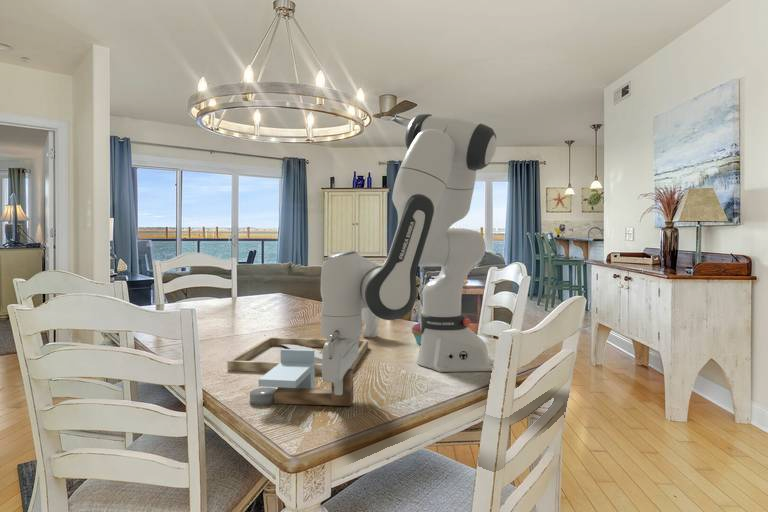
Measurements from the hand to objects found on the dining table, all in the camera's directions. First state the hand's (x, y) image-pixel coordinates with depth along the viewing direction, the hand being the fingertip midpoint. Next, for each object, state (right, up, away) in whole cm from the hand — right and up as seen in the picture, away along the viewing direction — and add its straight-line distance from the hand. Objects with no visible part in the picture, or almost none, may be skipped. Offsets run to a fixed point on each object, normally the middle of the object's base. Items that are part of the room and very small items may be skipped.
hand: (341, 390), depth 97 cm
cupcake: (+23, -1, +57) cm, 62 cm away
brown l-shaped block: (-6, -3, +1) cm, 7 cm away
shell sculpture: (+4, -1, +68) cm, 68 cm away
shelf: (-12, -3, +3) cm, 13 cm away
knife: (-14, -2, +39) cm, 42 cm away
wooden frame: (-15, -2, +38) cm, 41 cm away
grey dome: (-18, -3, +3) cm, 18 cm away
